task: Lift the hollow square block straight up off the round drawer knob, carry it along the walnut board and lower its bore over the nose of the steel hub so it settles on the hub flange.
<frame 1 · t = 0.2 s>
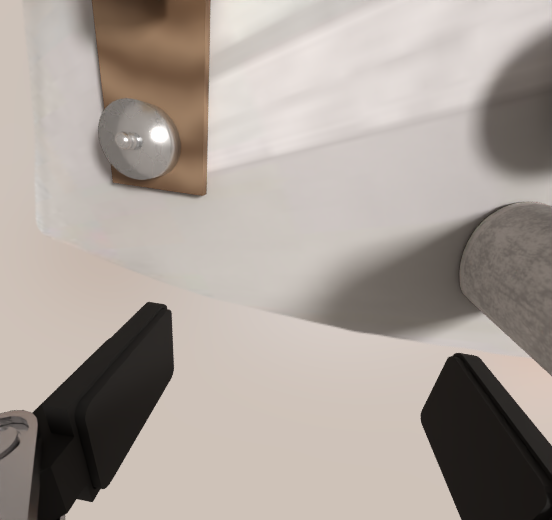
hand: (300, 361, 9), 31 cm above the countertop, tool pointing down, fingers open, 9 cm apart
grey bottle: (505, 259, 38), on the countertop
hub: (153, 141, 37), resting on board
board: (157, 68, 33), on the countertop
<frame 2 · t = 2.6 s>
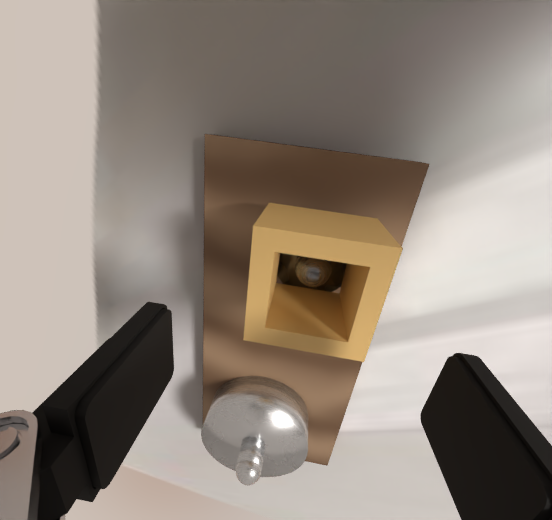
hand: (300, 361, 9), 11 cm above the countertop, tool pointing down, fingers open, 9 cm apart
hub: (262, 397, 26), resting on board
round drawer knob: (313, 239, 19), resting on board
board: (283, 331, 23), on the countertop
hollow square block: (313, 259, 16), point 3 cm above the countertop, touching round drawer knob
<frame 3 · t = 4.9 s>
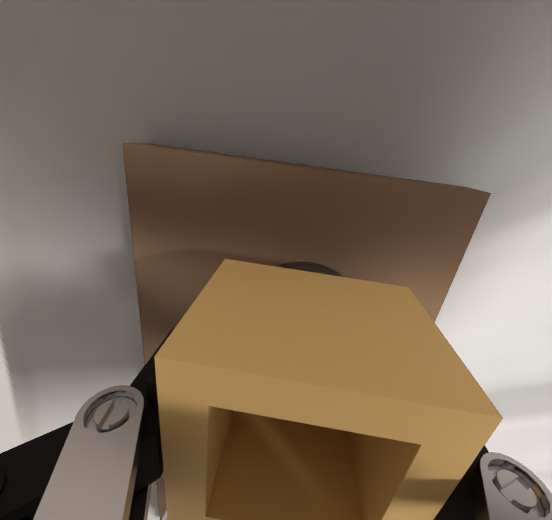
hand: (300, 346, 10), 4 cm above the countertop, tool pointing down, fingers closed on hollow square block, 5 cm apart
round drawer knob: (302, 296, 13), resting on board
board: (264, 411, 17), on the countertop
hollow square block: (300, 344, 10), point 4 cm above the countertop, touching gripper, round drawer knob
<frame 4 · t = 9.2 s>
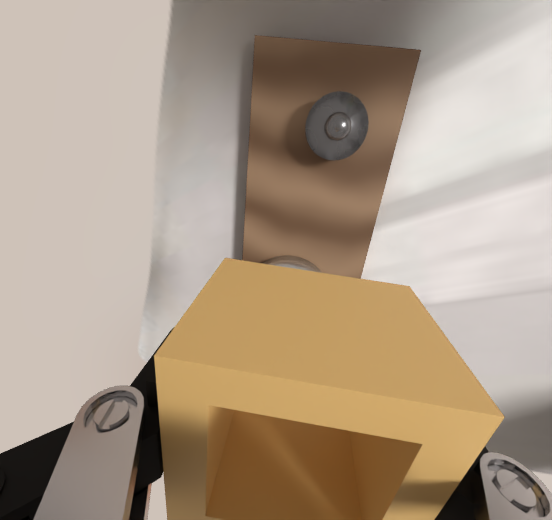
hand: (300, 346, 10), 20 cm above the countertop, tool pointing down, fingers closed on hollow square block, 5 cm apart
hub: (289, 285, 32), resting on board
round drawer knob: (333, 129, 25), resting on board
board: (308, 217, 28), on the countertop
hollow square block: (301, 344, 10), point 20 cm above the countertop, touching gripper
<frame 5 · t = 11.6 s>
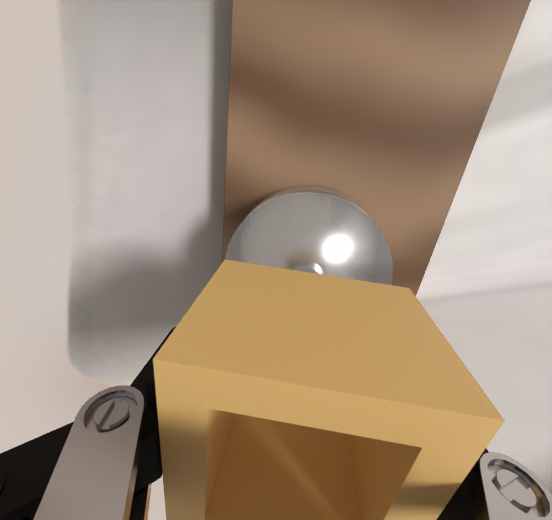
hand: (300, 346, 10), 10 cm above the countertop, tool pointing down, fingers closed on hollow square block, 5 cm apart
hub: (306, 248, 19), resting on board
board: (348, 111, 15), on the countertop
hollow square block: (300, 345, 10), point 10 cm above the countertop, touching gripper
when the fingers open (5 cm above the countertop, at t = 13.6 s): hollow square block stays where it is, resting on hub.
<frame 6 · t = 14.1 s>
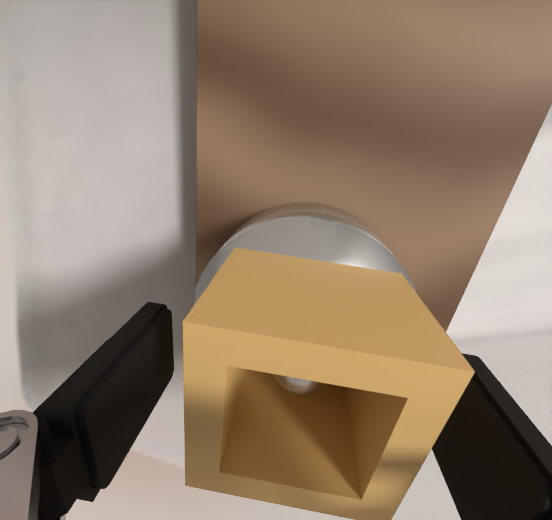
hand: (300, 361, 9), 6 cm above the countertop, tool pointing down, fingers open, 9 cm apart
hub: (302, 278, 15), resting on board
board: (357, 107, 12), on the countertop
hollow square block: (303, 327, 11), point 4 cm above the countertop, touching hub
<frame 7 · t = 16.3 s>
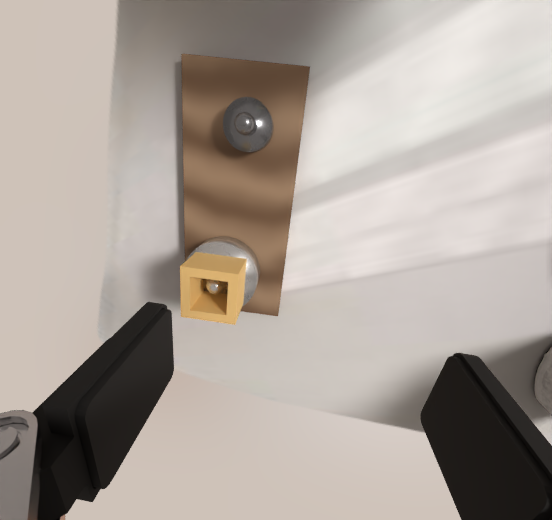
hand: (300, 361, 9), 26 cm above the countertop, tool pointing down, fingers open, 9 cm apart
hub: (228, 265, 37), resting on board
round drawer knob: (252, 128, 30), resting on board
board: (239, 203, 33), on the countertop
hollow square block: (220, 278, 32), point 4 cm above the countertop, touching hub
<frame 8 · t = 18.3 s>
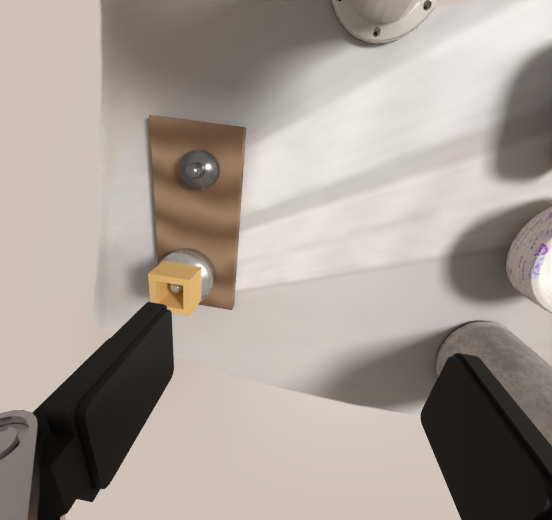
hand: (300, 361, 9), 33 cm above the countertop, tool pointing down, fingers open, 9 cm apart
grey bottle: (472, 357, 48), on the countertop
hub: (193, 269, 46), resting on board
round drawer knob: (206, 168, 40), resting on board
paper bowls: (548, 244, 39), on the countertop
board: (199, 222, 43), on the countertop
hollow square block: (183, 281, 42), point 4 cm above the countertop, touching hub
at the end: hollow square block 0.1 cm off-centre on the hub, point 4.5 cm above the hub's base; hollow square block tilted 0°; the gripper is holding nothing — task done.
